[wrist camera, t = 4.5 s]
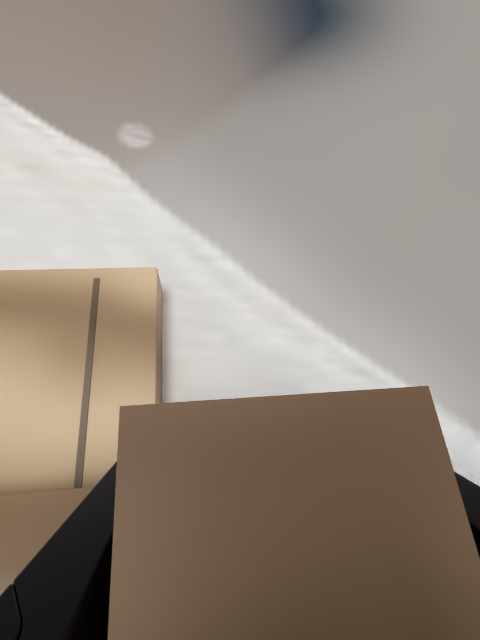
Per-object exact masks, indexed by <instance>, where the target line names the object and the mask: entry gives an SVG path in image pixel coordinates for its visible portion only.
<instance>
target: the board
mask: <svg viewBox="0 0 480 640" xmlns="http://www.w3.org/2000/svg"><path fill="white" fill-rule="evenodd" d="M161 358H162V287H161V283H160V279H159V274H158V270H157V267H148V268H101V269H53V270H5V271H0V495H10V494H21V493H32V492H43V491H54V490H65V489H76V488H87V487H95V485H96V484H97V483H98V482H99V481H100V480H101V478H102V477H103V476H104V475H105V474H106V473H107V472H108V470H109V469H110V468H111V467H112V466H113V465H114V463H115V462H116V461H117V449H118V430H119V411H120V406H130V405H145V404H160V403H161ZM21 571H22V570H21ZM21 571H13V572H4V573H0V595H1V594H2V593H3V591H4V590H5V589H6V588H7V587H8V586H9V585H10V584H13V585H14V583H13V581H14V579H15V578H16V577H17V576H18V574H19V573H20V572H21Z"/></svg>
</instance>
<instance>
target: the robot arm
mask: <svg viewBox="0 0 480 640" xmlns="http://www.w3.org/2000/svg"><path fill="white" fill-rule="evenodd" d="M116 468H117V461H116V462H115V463H114V465H113V466H112V467H111V468H110V469H109V470H108V472H107V473H106V474H105V475H104V476H103V477H102V478H101V480H100V481H99V482H98V483H97V484H96V485H95V487H94V488H93V489H92V490H91V491H90V492H89V493H88V495H87V496H86V497H85V498H84V499H83V500H82V502H81V503H80V504H79V505H78V506H77V507H76V508H75V510H74V511H73V512H72V513H71V514H70V515H69V517H68V518H67V519H66V520H65V521H64V522H63V524H62V525H61V526H60V527H59V528H58V529H57V530H56V532H55V533H54V534H53V535H52V536H51V537H50V539H49V540H48V541H47V542H46V543H45V544H44V545H43V547H42V548H41V549H40V550H39V551H38V552H37V554H36V555H35V556H34V557H33V558H32V559H31V561H30V562H29V563H28V564H27V565H26V566H25V567H24V569H23V570H22V571H21V572H20V573H19V574H18V576H17V577H16V578H15V579H14V581H13V583H14V585H13V584H10V585H9V586H8V587H7V588H6V589H5V590H4V591H3V593H2V594H1V595H0V640H108V622H109V603H110V584H111V564H112V545H113V526H114V507H115V488H116ZM454 474H455V477H456V480H457V484H458V487H459V491H460V494H461V497H462V501H463V504H464V507H465V511H466V514H467V517H468V521H469V524H470V527H471V531H472V534H473V537H474V541H475V544H476V548H477V551H478V554H479V558H480V487H479V486H478V485H476V484H474V483H473V482H471V481H469V480H468V479H466V478H464V477H463V476H461V475H459V474H457V473H456V472H454Z"/></svg>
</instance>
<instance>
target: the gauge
mask: <svg viewBox="0 0 480 640" xmlns="http://www.w3.org/2000/svg"><path fill="white" fill-rule="evenodd" d="M93 488H94V487H87V488H76V489H65V490H54V491H43V492H32V493H21V494H10V495H0V573H4V572H13V571H21V570H23V569H24V567H25V566H26V565H27V564H28V563H29V562H30V561H31V559H32V558H33V557H34V556H35V555H36V554H37V552H38V551H39V550H40V549H41V548H42V547H43V545H44V544H45V543H46V542H47V541H48V540H49V539H50V537H51V536H52V535H53V534H54V533H55V532H56V530H57V529H58V528H59V527H60V526H61V525H62V524H63V522H64V521H65V520H66V519H67V518H68V517H69V515H70V514H71V513H72V512H73V511H74V510H75V508H76V507H77V506H78V505H79V504H80V503H81V502H82V500H83V499H84V498H85V497H86V496H87V495H88V493H89V492H90V491H91V490H92V489H93ZM108 640H480V558H479V554H478V551H477V548H476V544H475V541H474V537H473V534H472V531H471V527H470V524H469V521H468V517H467V514H466V511H465V507H464V504H463V501H462V497H461V494H460V491H459V487H458V484H457V480H456V477H455V474H454V470H453V467H452V464H451V460H450V457H449V454H448V450H447V447H446V444H445V440H444V437H443V434H442V430H441V427H440V424H439V420H438V417H437V413H436V410H435V407H434V403H433V400H432V397H431V393H430V390H429V387H428V386H419V387H404V388H388V389H373V390H358V391H343V392H328V393H312V394H297V395H282V396H267V397H251V398H236V399H221V400H206V401H191V402H175V403H160V404H145V405H130V406H120V411H119V430H118V449H117V468H116V488H115V507H114V526H113V545H112V564H111V584H110V603H109V622H108Z"/></svg>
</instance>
